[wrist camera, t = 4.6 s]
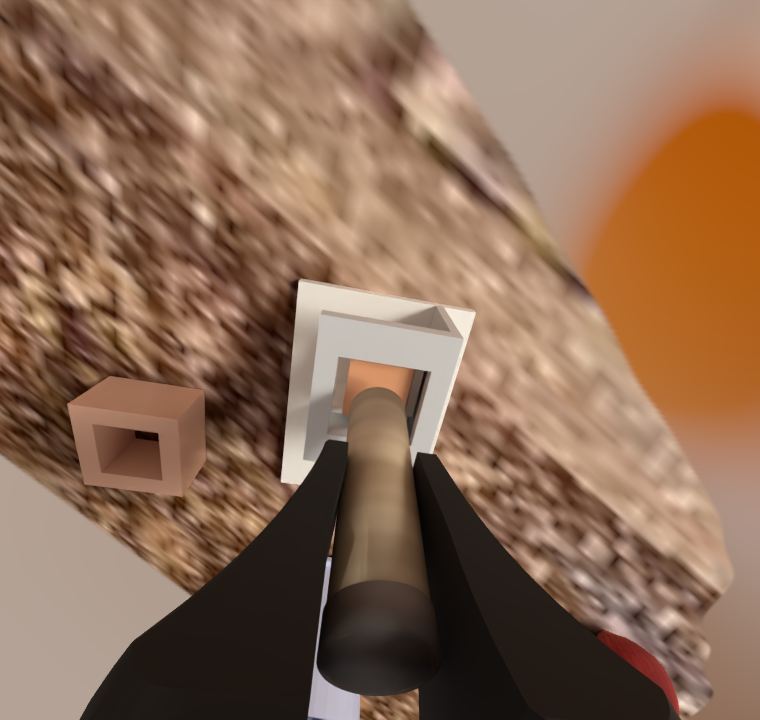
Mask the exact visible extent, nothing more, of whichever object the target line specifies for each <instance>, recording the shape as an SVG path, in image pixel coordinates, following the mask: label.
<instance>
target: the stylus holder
mask: <svg viewBox="0 0 760 720" xmlns="http://www.w3.org/2000/svg"><path fill="white" fill-rule="evenodd" d="M67 405H68V410H69V414H70V419H71V424H72V429H73V433H74V438H75V443H76V448H77V452H78V457H79V462H80V466H81V471H82V476H83V481H84V484H85V485H93V486H101V487H109V488H117V489H125V490H133V491H141V492H149V493H157V494H166V495H174V496H183V495H184V493H185V492H186V490H187V489H188V487H189V486H190V484H191V483H192V481H193V480H194V478H195V477H196V475H197V474H198V472H199V470H200V469H201V467H202V466H203V464H204V463H205V461H206V437H205V395H204V390H200V389H194V388H187V387H180V386H174V385H167V384H160V383H154V382H147V381H140V380H134V379H127V378H120V377H114V376H109V377H107V378H106V379H104V380H103V381H101V382H100V383H98V384H97V385H95V386H94V387H92V388H91V389H89V390H88V391H86V392H85V393H83V394H82V395H80V396H79V397H77V398H76V399H74V400H73V401H71V402H70V403H68V404H67ZM135 430H140V431H147V432H154V433H158V435H159V441H151V440H144V439H137V438H136V436H135Z"/></svg>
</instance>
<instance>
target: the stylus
mask: <svg viewBox="0 0 760 720" xmlns="http://www.w3.org/2000/svg"><path fill="white" fill-rule="evenodd" d="M346 442H349V444H348V457H347V463H346V468H345V473H344V479H343V484H342V488H341V493H340V498H339V504H338V512H337V520H336V528H335V536H334V544H333V552H332V560H331V568H330V577H329V585H328V593H327V601H326V604H325V606H324V609H323V613H322V621H321V628H320V636H319V644H318V652H317V660H316V664H317V669H318V671H319V673H320V674H321V676H322V677H323V678H324V679H325V680H326V681H327V682H329V683H330V684H332V685H333V686H335V687H337V688H339V689H341V690H344V691H347V692H350V693H354V694H359V695H367V696H388V695H396V694H401V693H405V692H409V691H412V690H414V689H417V688H419V687H421V686H423V685H425V684H426V683H428V682H429V681H431V680H432V679H433V678H434V677H435V676H436V675H437V673H438V672H439V670H440V667H441V664H442V657H441V650H440V643H439V636H438V629H437V622H436V615H435V609H434V606H433V604H432V602H431V598H430V590H429V583H428V576H427V569H426V561H425V554H424V547H423V539H422V532H421V525H420V518H419V510H418V503H417V496H416V489H415V481H414V474H413V467H412V459H411V452H410V445H409V438H408V430H407V423H406V416H405V409H404V404H403V401H402V399H401V398H400V397H399V396H398V395H397V394H396V393H395V392H393V391H392V390H390V389H387V388H383V387H372V388H368V389H365V390H363V391H361V392H360V393H359V394H357V395H356V396H355V398H354V399H353V401H352V403H351V407H350V414H349V422H348V431H347V439H346Z"/></svg>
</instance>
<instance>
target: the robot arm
mask: <svg viewBox="0 0 760 720" xmlns="http://www.w3.org/2000/svg"><path fill="white" fill-rule="evenodd" d="M348 444H349V442H345V441H338V440H331V439H329V440H327V441H326V442H325V444H324V446H323V449H322V451H321V453H320V455H319V457H318V459H317V460H316V462H315V464H314V465H313V467H312V469H311V470H310V472H309V473H308V475H307V476H306V478H305V479H304V481H303V482H302V484H301V485H300V486H299V488H298V489H297V490H296V492H295V493H294V494H293V496H292V497H291V498H290V499H289V501H288V502H287V503H286V505H285V506H284V507H283V508H282V509H281V511H280V512H279V513H278V514H277V515H276V517H275V518H274V519H273V520H272V521H271V522H270V523H269V524H268V526H267V527H266V528H265V529H264V530H263V531H262V532H261V533H260V534H259V535H258V536H257V537H256V538H255V539H254V540H253V541H252V542H251V543H250V544H249V545H248V546H247V547H246V548H245V549H244V550H243V551H242V552H241V553H240V554H239V555H238V556H237V557H236V558H235V559H234V560H233V561H232V562H231V563H230V564H228V565H227V566H226V567H225V568H224V569H223V570H222V571H221V572H219V573H218V574H217V575H216V576H215V577H214V578H212V579H211V580H210V581H209V582H208V583H207V584H205V585H204V586H203V587H202V588H201V589H200V590H198V591H197V592H196V593H195V594H194V595H193V596H191V597H190V598H189V599H188V600H186V601H185V602H184V603H183V604H181V605H180V606H179V607H177V608H176V609H175V610H173V611H172V612H171V613H169V614H168V615H167V616H165V617H164V618H163V619H162V620H160V621H159V622H158V623H156V624H155V625H154V626H152V627H151V628H150V629H148V630H147V631H146V632H144V633H143V634H142V635H141V636H139V637H138V638H136V639H135V640H134V641H133V642H132V643H131V644H130V646H129V647H128V648H127V649H126V651H125V652H124V653H123V655H122V656H121V657H120V659H119V660H118V661H117V663H116V664H115V665H114V667H113V668H112V669H111V671H110V672H109V674H108V675H107V677H106V678H105V680H104V681H103V682H102V684H101V685H100V687H99V688H98V690H97V691H96V693H95V694H94V696H93V697H92V699H91V700H90V702H89V704H88V705H87V707H86V709H85V711H84V713H83V714H82V716H81V718H80V720H359V712H360V695H359V694H354V693H350V692H347V691H344V690H341V689H339V688H337V687H335V686H333V685H332V684H330V683H329V682H327V681H326V680H325V679H324V678H323V677H322V676H321V674H320V673H319V671H318V669H317V664H316V660H317V652H318V644H319V636H320V628H321V621H322V613H323V609H324V606H325V604H326V601H327V593H328V585H329V577H330V568H331V560H332V557H328V553H329V549H330V544H331V540H332V536H333V531H334V527H335V522H336V517H337V511H338V504H339V498H340V493H341V488H342V484H343V479H344V473H345V468H346V463H347V457H348ZM413 474H414V481H415V489H416V496H417V503H418V510H419V518H420V525H421V532H422V539H423V547H424V554H425V561H426V569H427V576H428V583H429V590H430V598H431V602H432V604H433V606H434V609H435V615H436V622H437V629H438V636H439V643H440V650H441V657H442V664H441V667H440V670H439V672H438V673H437V675H436V676H435V677H434V678H433V679H432V680H431V681H429V682H428V683H426V684H425V685H423V686H421V687H419V720H681V719H680V717H679V716H678V714H677V712H676V711H675V709H674V707H673V706H672V704H671V702H670V700H669V699H668V697H667V696H666V694H665V692H664V691H663V689H662V688H661V687H659V686H658V685H657V684H656V683H654V682H653V681H652V680H650V679H649V678H648V677H647V676H645V675H644V674H643V673H641V672H640V671H639V670H638V669H636V668H635V667H634V666H632V665H631V664H630V663H628V662H627V661H626V660H625V659H623V658H622V657H621V656H619V655H618V654H617V653H616V652H614V651H613V650H612V649H610V648H609V647H608V646H607V645H605V644H604V643H603V642H602V641H601V640H600V639H598V638H597V637H596V636H595V635H594V634H592V633H591V632H590V631H589V630H588V629H587V628H585V627H584V626H583V625H582V624H581V623H580V622H578V621H577V620H576V619H575V618H574V617H573V616H572V615H571V614H569V613H568V612H567V611H566V610H565V609H564V608H563V607H562V606H561V605H559V604H558V603H557V602H556V601H555V600H554V599H553V598H552V597H551V596H550V595H549V594H548V593H547V592H546V591H545V590H544V589H543V588H542V587H541V586H540V585H539V584H538V583H537V582H535V581H534V580H533V578H532V577H531V576H530V575H529V574H528V573H527V572H526V571H525V570H524V569H523V568H522V567H521V566H520V565H519V564H518V563H517V562H516V561H515V559H514V558H513V557H512V556H511V555H510V554H509V553H508V552H507V551H506V550H505V548H504V547H503V546H502V545H501V544H500V543H499V542H498V540H497V539H496V538H495V537H494V536H493V534H492V533H491V532H490V531H489V529H488V528H487V527H486V526H485V524H484V523H483V522H482V520H481V519H480V518H479V517H478V515H477V514H476V513H475V511H474V510H473V508H472V507H471V506H470V504H469V503H468V501H467V500H466V499H465V497H464V496H463V494H462V493H461V491H460V490H459V488H458V487H457V485H456V484H455V482H454V481H453V479H452V478H451V476H450V475H449V473H448V472H447V470H446V469H445V467H444V466H443V464H442V463H441V461H440V460H439V458H438V457H437V455H436V454H429V453H422V452H417V455H416V458H415V462H414V465H413Z"/></svg>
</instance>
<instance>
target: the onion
mask: <svg viewBox="0 0 760 720" xmlns="http://www.w3.org/2000/svg"><path fill="white" fill-rule="evenodd" d="M597 638H598V639H600V640H601V641H602V642H603V643H604V644H605V645H607V646H608V647H609V648H610V649H612V650H613V651H614V652H616V653H617V654H618V655H619V656H621V657H622V658H623V659H625V660H626V661H627V662H628V663H630V664H631V665H632V666H634V667H635V668H636V669H638V670H639V671H640V672H641V673H643V674H644V675H645V676H647V677H648V678H649V679H650V680H652V681H653V682H654V683H656V684H657V685H658V686H659V687H661V688H662V689H663V691H664V692H665V694H666V696H667V697H668V699H669V700H670V702H671V704H672V706H673V707H674V709H675V711H676V712H677V714H678V716H679V705H678V700H677V696H676V693H675V690H674V688H673V685H672V683H671V680H670V679H669V677H668V675H667V673H666V671H665V669H664V668H663V667H662V665H661V664H660V663H659V662H658V661H657V659H656V658H655V657H654V656H653V655H651V654H650V653H649V652H647V651H646V650H645V649H643V648H642V647H640V646H639V645H638V644H636V643H635V642H633V641H631V640H629V639H627V638H624V637H621V636H619V635H616V634H613V633H610V632H608V631H601V632H599V633H598V635H597Z"/></svg>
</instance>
